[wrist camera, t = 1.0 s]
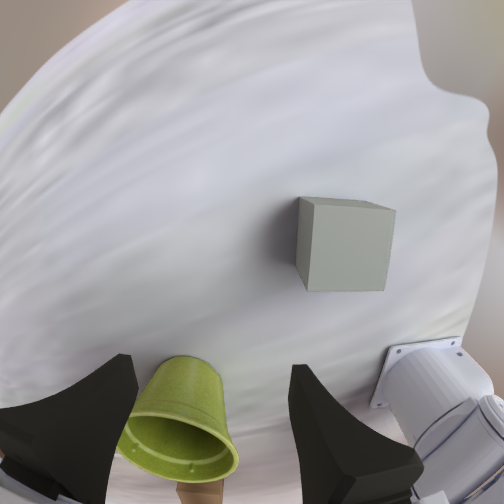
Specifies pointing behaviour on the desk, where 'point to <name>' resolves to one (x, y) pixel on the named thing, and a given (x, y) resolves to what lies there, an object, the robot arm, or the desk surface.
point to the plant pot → (180, 425)
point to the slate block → (343, 244)
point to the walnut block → (201, 492)
